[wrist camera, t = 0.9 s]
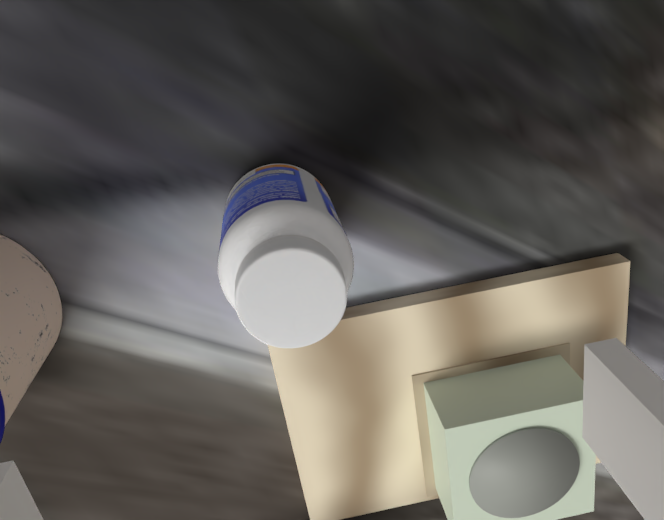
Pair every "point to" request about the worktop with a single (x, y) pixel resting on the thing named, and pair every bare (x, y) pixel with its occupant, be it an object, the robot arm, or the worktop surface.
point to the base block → (511, 443)
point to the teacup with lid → (24, 322)
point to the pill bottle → (284, 257)
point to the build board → (427, 373)
